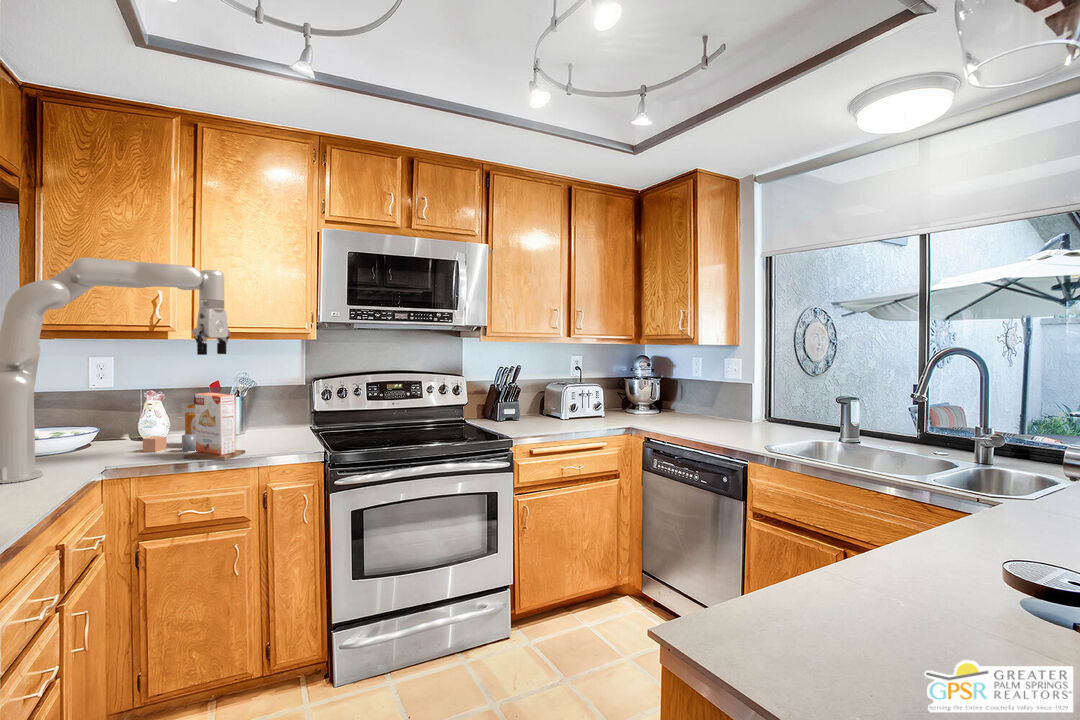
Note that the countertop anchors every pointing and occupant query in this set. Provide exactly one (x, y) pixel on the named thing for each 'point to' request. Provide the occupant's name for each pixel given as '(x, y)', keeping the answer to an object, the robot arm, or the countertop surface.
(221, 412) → the cracker box
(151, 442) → the terracotta block
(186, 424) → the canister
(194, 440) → the slate cylinder
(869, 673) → the countertop surface
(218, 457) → the cutting board
